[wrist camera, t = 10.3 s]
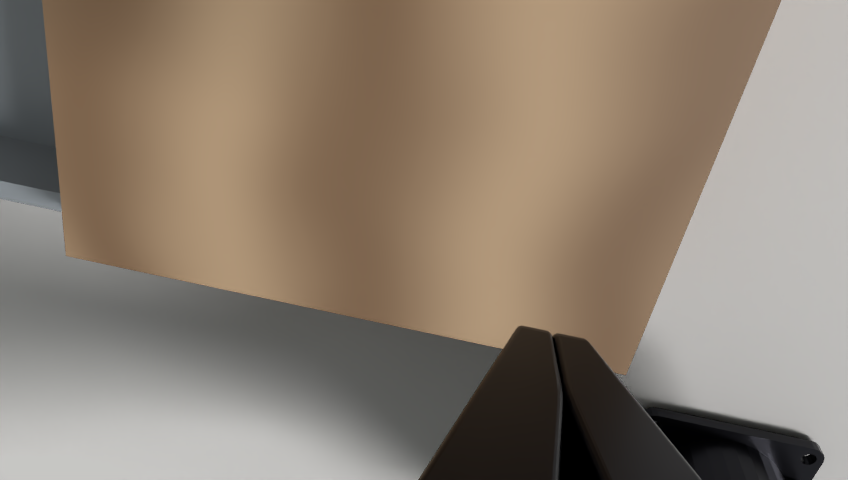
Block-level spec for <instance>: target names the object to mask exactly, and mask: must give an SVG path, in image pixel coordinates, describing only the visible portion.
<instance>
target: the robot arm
mask: <svg viewBox="0 0 848 480" xmlns="http://www.w3.org/2000/svg"><path fill="white" fill-rule="evenodd" d="M654 421H657V422H656V423H655V422H654ZM807 454H810V455H808V456H804V455H807ZM823 461H824V455H823V453H822V451H821V449H820V447H819V445H818V444H817V443H815V442H812V441H809V440H804V439H800V438H795V437H790V436H786V435H781V434H776V433H771V432H767V431H762V430H757V429H753V428H748V427H743V426H739V425H734V424H729V423H725V422H720V421H715V420H711V419H706V418H701V417H697V416H692V415H687V414H683V413H678V412H673V411H669V410H664V409H659V408H647V409H644V408H643V407H642V406H641V405H640V404H639V402H638V401H637V400H636V399H635V397H634V396H633V395H632V394H631V393H630V391H629V390H628V389H627V388H626V386H625V385H624V384H623V383H622V381H621V380H620V379H619V378H618V377H617V375H616V374H615V373H614V372H613V370H612V369H611V368H610V367H609V366H608V364H607V363H606V362H605V361H604V359H603V358H602V357H601V356H600V355H599V353H598V352H597V351H596V350H595V348H594V347H593V346H592V345H591V343H590V342H589V341H587V340H586V339H584V338H580V337H575V336H570V335H565V334H560V333H556V334H554V335H553V336H552V334H551V333H550V332H549V331H546V330H542V329H537V328H532V327H528V326H522V325H521V326H518V327H517V328H516V329H515V331H514V332H513V334H512V336H511V337H510V339H509V340H508V342H507V343H506V345H505V346H504V348H503V349H502V351H501V353H500V354H499V356H498V357H497V359H496V360H495V362H494V363H493V365H492V366H491V368H490V370H489V371H488V373H487V374H486V376H485V377H484V379H483V380H482V382H481V383H480V385H479V387H478V388H477V390H476V391H475V393H474V394H473V396H472V397H471V399H470V400H469V402H468V404H467V405H466V407H465V408H464V410H463V411H462V413H461V414H460V416H459V418H458V419H457V421H456V422H455V424H454V425H453V427H452V428H451V430H450V431H449V433H448V435H447V436H446V438H445V439H444V441H443V442H442V444H441V445H440V447H439V448H438V450H437V452H436V453H435V455H434V456H433V458H432V459H431V461H430V462H429V464H428V465H427V467H426V469H425V470H424V472H423V473H422V475H421V476H420V478H419V479H418V480H812V479H813V477H814V476H815V474H816V473H817V471H818V470H819V468H820V466H821V465H822V463H823Z"/></svg>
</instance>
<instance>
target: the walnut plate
mask: <svg viewBox="0 0 848 480" xmlns="http://www.w3.org/2000/svg"><path fill="white" fill-rule="evenodd" d="M780 2H781V0H42V5H43V16H44V27H45V37H46V48H47V59H48V69H49V80H50V91H51V101H52V112H53V123H54V133H55V144H56V155H57V165H58V176H59V187H60V197H61V208H62V219H63V229H64V240H65V251H66V256H69V257H74V258H78V259H83V260H88V261H92V262H97V263H102V264H106V265H111V266H116V267H120V268H125V269H130V270H135V271H139V272H144V273H149V274H153V275H158V276H163V277H167V278H172V279H177V280H181V281H186V282H191V283H196V284H200V285H205V286H210V287H214V288H219V289H224V290H228V291H233V292H238V293H242V294H247V295H252V296H257V297H261V298H266V299H271V300H275V301H280V302H285V303H289V304H294V305H299V306H303V307H308V308H313V309H318V310H322V311H327V312H332V313H336V314H341V315H346V316H350V317H355V318H360V319H364V320H369V321H374V322H379V323H383V324H388V325H393V326H397V327H402V328H407V329H411V330H416V331H421V332H425V333H430V334H435V335H440V336H444V337H449V338H454V339H458V340H463V341H468V342H472V343H477V344H482V345H486V346H491V347H496V348H501V349H503V348H504V346H505V345H506V343H507V342H508V340H509V339H510V337H511V336H512V334H513V332H514V331H515V329H516V328H517V327H518V326H521V325H522V326H528V327H532V328H537V329H542V330H546V331H549V332H550V333H551V334H552V336H553V335H554V334H556V333H560V334H565V335H570V336H575V337H580V338H584V339H586V340H587V341H589V342H590V343H591V345H592V346H593V347H594V348H595V350H596V351H597V352H598V353H599V355H600V356H601V357H602V358H603V359H604V361H605V362H606V363H607V364H608V366H609V367H610V368H611V369H612V370H613V372H614V373H618V374H623V375H626V374H627V371H628V369H629V366H630V364H631V362H632V359H633V357H634V354H635V352H636V350H637V347H638V345H639V342H640V340H641V337H642V335H643V333H644V330H645V328H646V325H647V323H648V321H649V318H650V316H651V313H652V311H653V308H654V306H655V304H656V301H657V299H658V296H659V294H660V292H661V289H662V287H663V284H664V282H665V280H666V277H667V275H668V272H669V270H670V267H671V265H672V263H673V260H674V258H675V255H676V253H677V251H678V248H679V246H680V243H681V241H682V239H683V236H684V234H685V231H686V229H687V226H688V224H689V222H690V219H691V217H692V214H693V212H694V210H695V207H696V205H697V202H698V200H699V198H700V195H701V193H702V190H703V188H704V185H705V183H706V181H707V178H708V176H709V173H710V171H711V169H712V166H713V164H714V161H715V159H716V157H717V154H718V152H719V149H720V147H721V144H722V142H723V140H724V137H725V135H726V132H727V130H728V128H729V125H730V123H731V120H732V118H733V116H734V113H735V111H736V108H737V106H738V103H739V101H740V99H741V96H742V94H743V91H744V89H745V87H746V84H747V82H748V79H749V77H750V75H751V72H752V70H753V67H754V65H755V62H756V60H757V58H758V55H759V53H760V50H761V48H762V46H763V43H764V41H765V38H766V36H767V33H768V31H769V29H770V26H771V24H772V21H773V19H774V17H775V14H776V12H777V9H778V7H779V5H780Z"/></svg>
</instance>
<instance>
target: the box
mask: <svg viewBox="0 0 848 480" xmlns="http://www.w3.org/2000/svg"><path fill="white" fill-rule="evenodd" d="M0 199H4V200H9V201H13V202H18V203H23V204H27V205H32V206H37V207H42V208H46V209H51V210H56V211H60V212H62V208H61V197H60V187H59V176H58V165H57V155H56V144H55V133H54V123H53V112H52V101H51V91H50V80H49V69H48V59H47V48H46V37H45V27H44V16H43V5H42V0H0Z"/></svg>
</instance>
